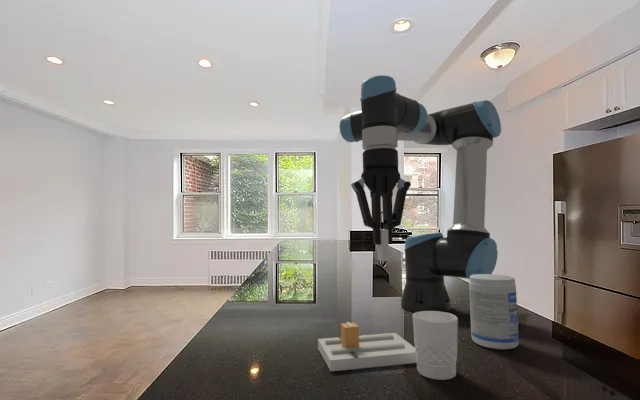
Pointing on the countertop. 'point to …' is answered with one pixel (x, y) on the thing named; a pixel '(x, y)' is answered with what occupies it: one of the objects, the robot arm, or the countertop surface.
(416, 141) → the robot arm
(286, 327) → the countertop surface
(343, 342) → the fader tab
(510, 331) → the supplement tub
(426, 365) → the white cup
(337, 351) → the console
